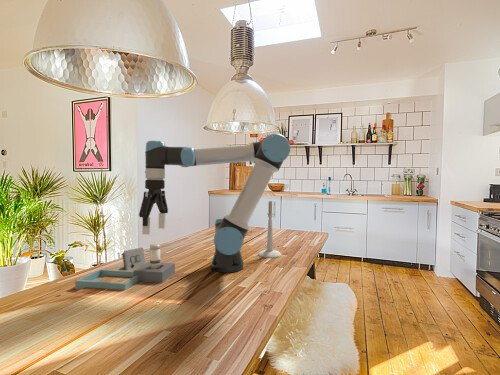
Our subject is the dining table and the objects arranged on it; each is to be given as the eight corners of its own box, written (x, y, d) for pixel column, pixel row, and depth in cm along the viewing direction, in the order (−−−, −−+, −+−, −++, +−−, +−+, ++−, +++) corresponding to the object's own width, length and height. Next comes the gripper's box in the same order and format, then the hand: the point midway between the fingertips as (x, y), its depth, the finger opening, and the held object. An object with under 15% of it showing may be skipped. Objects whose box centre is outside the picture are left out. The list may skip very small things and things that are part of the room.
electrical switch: (127, 272, 125) (126, 251, 126) (121, 271, 129) (120, 250, 129) (146, 267, 133) (145, 247, 133) (140, 266, 136) (139, 246, 136)
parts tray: (144, 279, 117) (144, 271, 117) (125, 292, 103) (125, 283, 103) (100, 276, 120) (100, 269, 120) (75, 289, 106) (75, 280, 106)
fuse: (162, 275, 119) (162, 244, 119) (157, 278, 115) (157, 246, 115) (152, 274, 120) (152, 243, 119) (148, 277, 116) (148, 246, 115)
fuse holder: (175, 274, 123) (175, 263, 123) (162, 285, 111) (162, 272, 111) (148, 273, 124) (148, 261, 124) (133, 283, 112) (133, 270, 112)
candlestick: (279, 252, 163) (280, 199, 163) (283, 258, 151) (283, 201, 150) (257, 252, 163) (258, 199, 162) (258, 258, 150) (259, 201, 149)
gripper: (160, 179, 129) (159, 225, 130) (129, 178, 104) (128, 236, 105) (175, 179, 128) (175, 226, 129) (148, 179, 103) (148, 237, 104)
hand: (154, 231), depth 117 cm, fingers open, 13 cm apart
